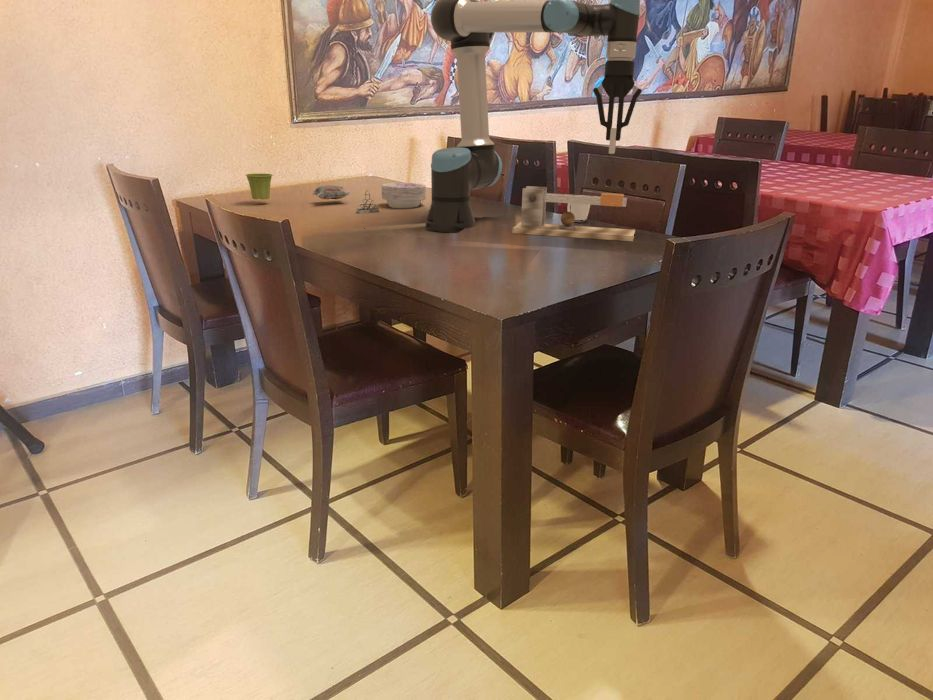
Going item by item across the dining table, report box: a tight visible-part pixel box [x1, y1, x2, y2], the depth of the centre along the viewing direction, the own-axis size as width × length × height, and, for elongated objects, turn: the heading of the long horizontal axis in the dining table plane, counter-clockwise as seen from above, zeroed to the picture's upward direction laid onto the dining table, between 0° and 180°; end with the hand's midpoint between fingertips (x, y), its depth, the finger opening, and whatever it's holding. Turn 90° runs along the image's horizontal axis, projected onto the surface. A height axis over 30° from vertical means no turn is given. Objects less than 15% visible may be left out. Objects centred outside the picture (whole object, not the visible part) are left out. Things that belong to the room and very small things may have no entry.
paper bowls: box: [381, 182, 427, 209], centre depth 240 cm, size 15×15×8 cm
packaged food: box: [312, 185, 350, 201], centre depth 253 cm, size 9×12×5 cm
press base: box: [512, 185, 636, 242], centre depth 198 cm, size 34×10×12 cm, turn 74°
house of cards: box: [356, 189, 380, 215], centre depth 232 cm, size 9×9×8 cm
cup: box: [566, 195, 591, 221], centre depth 218 cm, size 7×10×8 cm
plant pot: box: [245, 173, 273, 200], centre depth 254 cm, size 9×9×9 cm
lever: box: [543, 192, 628, 208], centre depth 196 cm, size 28×4×4 cm, turn 74°
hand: (611, 153), depth 190 cm, fingers closed
